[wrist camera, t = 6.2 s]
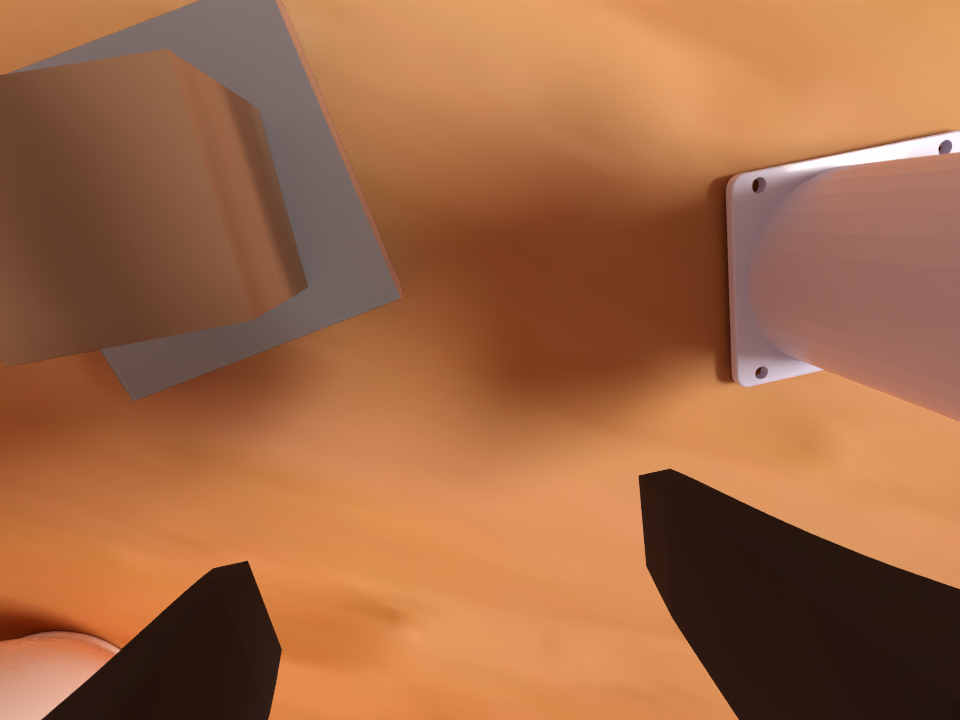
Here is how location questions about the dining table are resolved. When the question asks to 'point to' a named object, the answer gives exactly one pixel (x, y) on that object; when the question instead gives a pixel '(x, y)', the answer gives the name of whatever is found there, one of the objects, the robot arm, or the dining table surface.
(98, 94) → the walnut block
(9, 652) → the lidded jar
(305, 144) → the plate
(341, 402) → the dining table surface
